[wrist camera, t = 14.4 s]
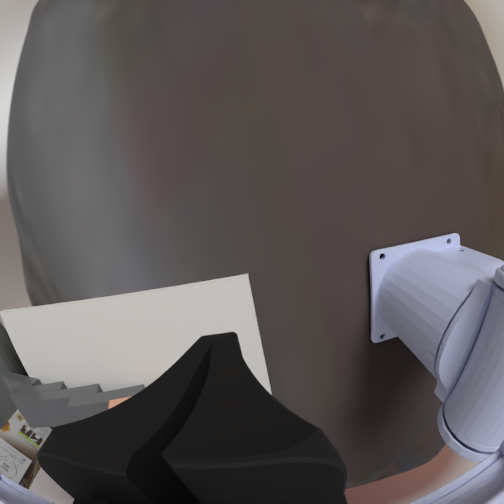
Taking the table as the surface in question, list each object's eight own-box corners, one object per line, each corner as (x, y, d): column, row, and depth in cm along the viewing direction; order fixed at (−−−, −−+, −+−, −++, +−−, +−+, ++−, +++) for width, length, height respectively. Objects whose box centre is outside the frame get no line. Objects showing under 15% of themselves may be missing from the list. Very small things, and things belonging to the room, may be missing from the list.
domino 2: (60, 389, 20) (9, 395, 17) (82, 423, 21) (31, 428, 18) (63, 381, 21) (13, 388, 19) (83, 414, 22) (33, 420, 20)
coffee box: (20, 402, 23) (-31, 467, 8) (53, 429, 24) (9, 502, 9) (23, 428, 25) (-16, 485, 9) (52, 450, 26) (18, 512, 10)
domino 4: (143, 394, 20) (67, 406, 17) (163, 431, 21) (92, 442, 18) (143, 384, 21) (70, 396, 19) (162, 420, 22) (94, 431, 20)
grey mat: (247, 273, 19) (247, 275, 19) (278, 424, 23) (278, 427, 23) (2, 310, 20) (-1, 311, 20) (59, 419, 24) (58, 422, 23)
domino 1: (30, 386, 20) (1, 376, 20) (52, 418, 21) (19, 406, 22) (38, 378, 21) (8, 370, 22) (58, 411, 22) (25, 400, 23)
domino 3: (96, 392, 20) (34, 401, 17) (118, 428, 21) (58, 434, 18) (98, 383, 21) (38, 392, 19) (119, 418, 22) (61, 425, 20)
